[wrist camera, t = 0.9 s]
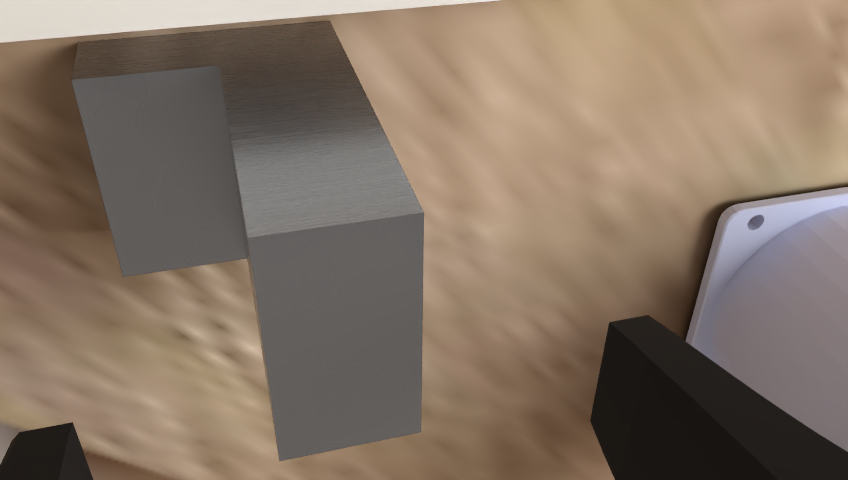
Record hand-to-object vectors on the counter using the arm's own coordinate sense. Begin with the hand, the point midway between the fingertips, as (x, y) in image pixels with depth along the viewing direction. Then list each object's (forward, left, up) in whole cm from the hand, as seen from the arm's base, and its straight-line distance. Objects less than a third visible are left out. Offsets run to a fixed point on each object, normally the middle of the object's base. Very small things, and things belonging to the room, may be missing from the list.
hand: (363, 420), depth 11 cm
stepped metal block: (+1, 0, -9) cm, 9 cm away
